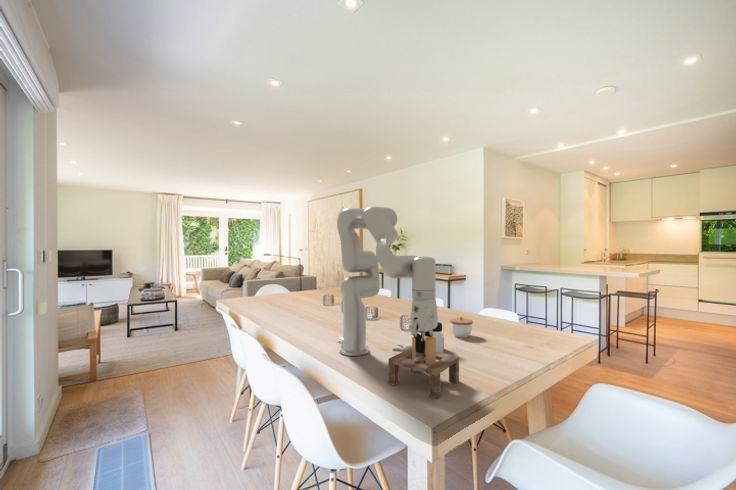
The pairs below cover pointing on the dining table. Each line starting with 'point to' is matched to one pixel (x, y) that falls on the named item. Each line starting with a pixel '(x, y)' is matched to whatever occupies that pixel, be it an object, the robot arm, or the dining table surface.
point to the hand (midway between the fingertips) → (423, 350)
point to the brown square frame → (425, 369)
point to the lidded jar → (461, 327)
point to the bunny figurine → (404, 348)
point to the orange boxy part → (430, 350)
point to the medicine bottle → (439, 338)
